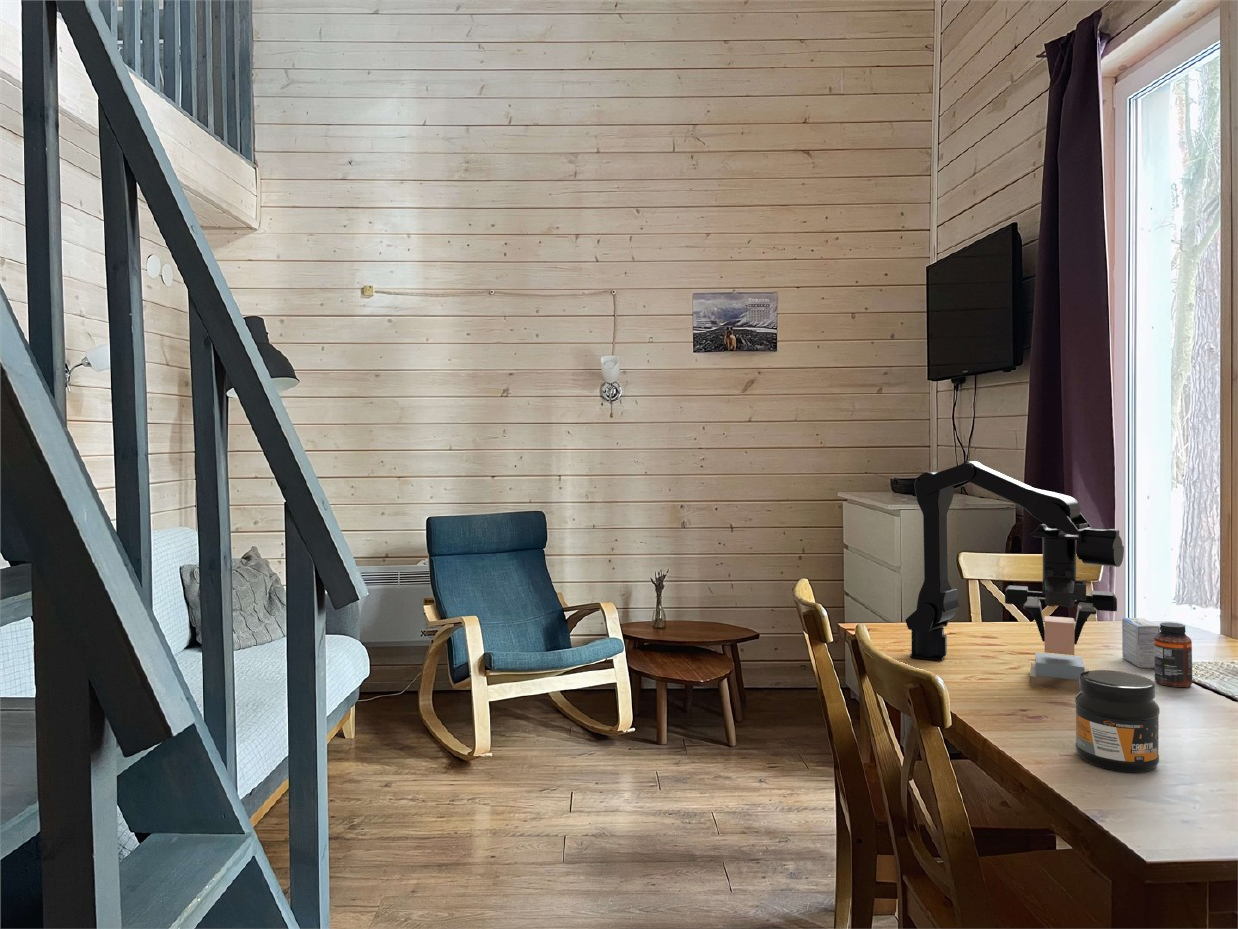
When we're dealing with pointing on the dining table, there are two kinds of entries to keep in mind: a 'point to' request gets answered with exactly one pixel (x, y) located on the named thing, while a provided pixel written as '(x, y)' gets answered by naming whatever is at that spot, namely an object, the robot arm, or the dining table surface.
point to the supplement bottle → (1173, 656)
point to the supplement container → (1117, 721)
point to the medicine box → (1139, 641)
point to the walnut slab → (1053, 681)
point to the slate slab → (1059, 666)
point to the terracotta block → (1059, 635)
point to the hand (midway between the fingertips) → (1059, 642)
